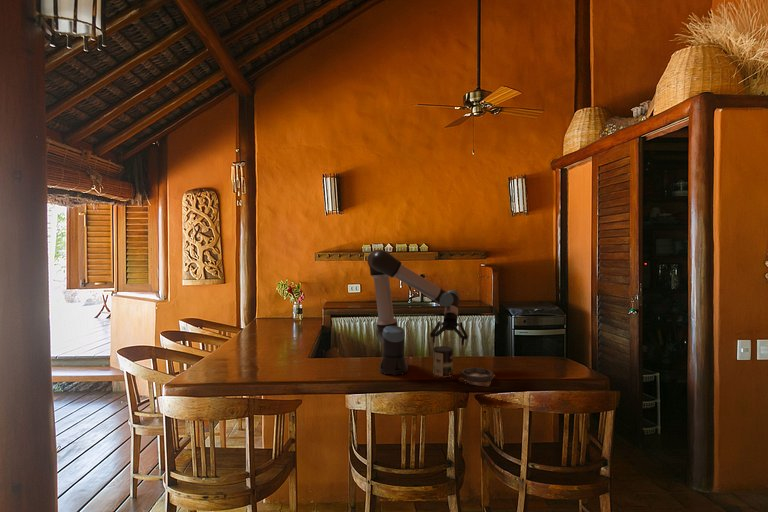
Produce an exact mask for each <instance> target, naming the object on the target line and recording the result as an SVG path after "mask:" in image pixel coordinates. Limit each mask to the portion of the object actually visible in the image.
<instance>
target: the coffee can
mask: <svg viewBox="0 0 768 512" xmlns="http://www.w3.org/2000/svg"><path fill="white" fill-rule="evenodd" d="M432 351H433V374H434V375H439V376H449V375H452V374H453V375H454V372H453V371H454V367H453V366H454V348H452V347H450V346H445V345H444V346H443V345H441V346H436V347H435V348H434V347H433V350H432ZM434 375H433V376H434Z"/></svg>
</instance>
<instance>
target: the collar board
mask: <svg viewBox="0 0 768 512" xmlns="http://www.w3.org/2000/svg"><path fill="white" fill-rule="evenodd" d="M494 376H495V377H496V374H494V372H493V371H491V370H489V369H488V368H483V367H474V366H473V367H469V368H468V367H467V368H463V369H462V371H461V372H460V377H459V379H460V378H464V379H465V380H464V381H467V382H468V383H469V384H468V385H472V386H473V385H474V386H481V387H486V388H487V387H488V388H489V387H490V385H492V383H491V380H492V378H493V377H494Z"/></svg>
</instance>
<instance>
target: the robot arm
mask: <svg viewBox="0 0 768 512" xmlns="http://www.w3.org/2000/svg"><path fill="white" fill-rule="evenodd" d="M367 265H368V267H369V273H370V276H371V277H372V278H373V283H374V291H375V292H374V293H375V299H376V309H377V310H376V311H377V316H378V317H377V318H378V320H377V322H376V330H375V331H376V338H377V340H378V342H379V343H381V345H382V358H381V362H380V365H379V373H380V374H382V373H385V374H402V373H405V374H407V373H408V372H407V371H409V366H408V363H407V361H406V357H405V351H406V350H405V346H406V345H405V344H406V343H405V342H406V340H405V337H406V333H405V329H404V328H403V327H401V326H398V320H397V319H396V318H395V316H394V309H393V299H392V290H391V281H390V278H393V279H394V278H395V279H397V280H399V281H401V282H403V283H404V284H406V285H407V286H409V287H410V288H413V290H416V291H417V292H419V293H421V294H423V295H424V296H425V297H426V299H429V300H430V301H432V302H433V301H434V302H435V303H437V304H439V305H440V306H442V307H444V312H443V313H444V315H443V321H442V322H441V321H439V320H438V321H437V323H436V325H435V326H434V328H433V329H432V331H431V332H430V334H429V336H430V338H432V344H433V348H435V347H437V341H438V337H439V336H440V335H442V333H443V332H445V331H446V332H447V331H448V332H449V331H452V332H455V333H456V335H457V336H458V337H459V339H460V340H459V352H462V347H463V346H464V345H465V340H468V339H469V337H468V334H467V332H466V329H464V326H463V322H458V318H459V317H458V315H459V303H460V294H459V292H458V291H457V290H452V289H450V290H448V291H446V290H444V289H442V288H441V287H440V286H437V285H436V284H434V283H433V282H431V281H429V280H427V279H426V278H424V277H423V276H421V275H419V274H418V273H416V272H415V271H413V270H412V269H410V268H408V267H406V266H405V265H404V264H403V262H402V261H400V260H399V259H397V258H396V257H395V256H393V255H392V254H391V253H390V252H388V251H385V250H383V249H373V250H372V251H371V252H369V254H368V256H367ZM440 327H441V328H440ZM458 327H459V328H460V330H461V331H460V330H459V329H458ZM461 332H462V333H461ZM406 372H407V373H406ZM385 374H384V375H385ZM402 375H403V374H402Z"/></svg>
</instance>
